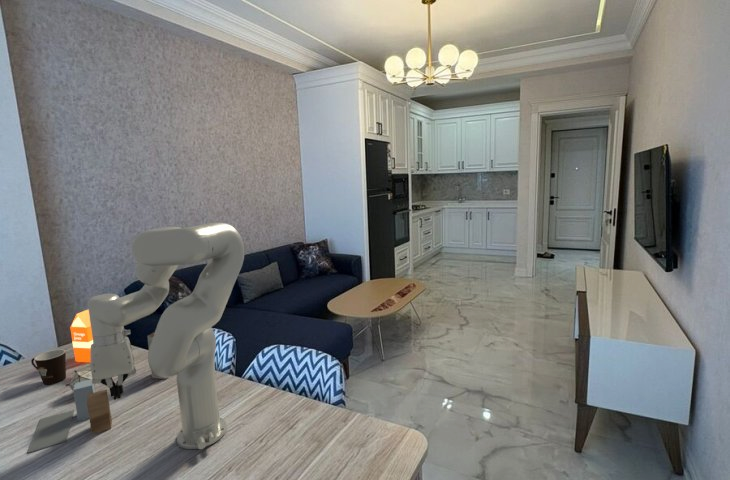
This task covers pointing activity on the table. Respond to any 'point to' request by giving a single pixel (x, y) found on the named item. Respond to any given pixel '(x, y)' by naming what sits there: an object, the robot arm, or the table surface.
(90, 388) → the slate block
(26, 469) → the table surface
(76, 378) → the game die
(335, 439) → the table surface
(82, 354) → the orange juice
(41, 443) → the felt mat
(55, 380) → the coffee mug
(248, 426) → the table surface
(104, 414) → the walnut block
